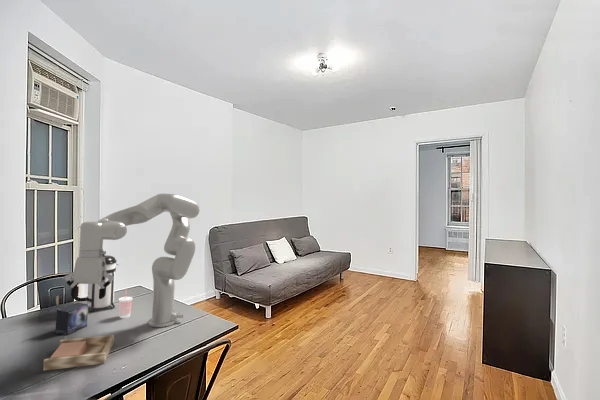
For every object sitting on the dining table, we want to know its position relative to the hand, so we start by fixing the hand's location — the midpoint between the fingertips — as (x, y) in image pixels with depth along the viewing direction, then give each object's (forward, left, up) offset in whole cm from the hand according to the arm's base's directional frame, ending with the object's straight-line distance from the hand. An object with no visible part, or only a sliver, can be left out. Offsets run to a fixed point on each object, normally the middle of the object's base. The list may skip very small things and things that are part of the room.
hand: (88, 297), depth 122 cm
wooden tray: (0, +5, -21) cm, 21 cm away
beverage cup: (-8, -35, -21) cm, 41 cm away
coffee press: (+7, -50, -21) cm, 55 cm away
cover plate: (+4, +5, -20) cm, 21 cm away
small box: (+11, -23, -21) cm, 33 cm away
